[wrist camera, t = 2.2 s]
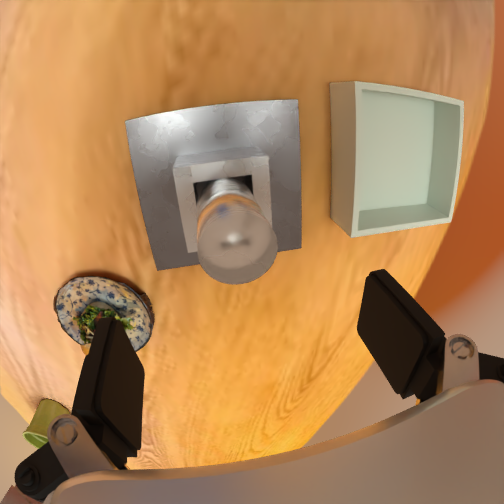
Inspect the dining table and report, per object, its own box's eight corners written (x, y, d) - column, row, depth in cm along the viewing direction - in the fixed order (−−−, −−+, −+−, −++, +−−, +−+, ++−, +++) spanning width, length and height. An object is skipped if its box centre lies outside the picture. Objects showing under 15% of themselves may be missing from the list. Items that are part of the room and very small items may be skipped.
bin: (329, 82, 22) (354, 81, 18) (434, 96, 23) (463, 101, 19) (330, 217, 28) (351, 237, 24) (426, 206, 30) (450, 222, 26)
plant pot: (27, 386, 34) (15, 426, 26) (74, 401, 37) (66, 444, 29) (38, 411, 38) (30, 447, 30) (81, 424, 40) (75, 461, 33)
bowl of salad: (160, 277, 28) (153, 328, 22) (151, 353, 33) (147, 401, 27) (54, 257, 25) (25, 300, 19) (63, 335, 30) (48, 380, 24)
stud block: (127, 120, 20) (110, 124, 16) (294, 99, 22) (316, 99, 18) (158, 265, 27) (153, 296, 23) (298, 243, 29) (315, 270, 25)
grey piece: (177, 156, 22) (160, 199, 12) (255, 146, 23) (299, 181, 13) (189, 227, 25) (187, 310, 16) (260, 217, 26) (299, 291, 16)
